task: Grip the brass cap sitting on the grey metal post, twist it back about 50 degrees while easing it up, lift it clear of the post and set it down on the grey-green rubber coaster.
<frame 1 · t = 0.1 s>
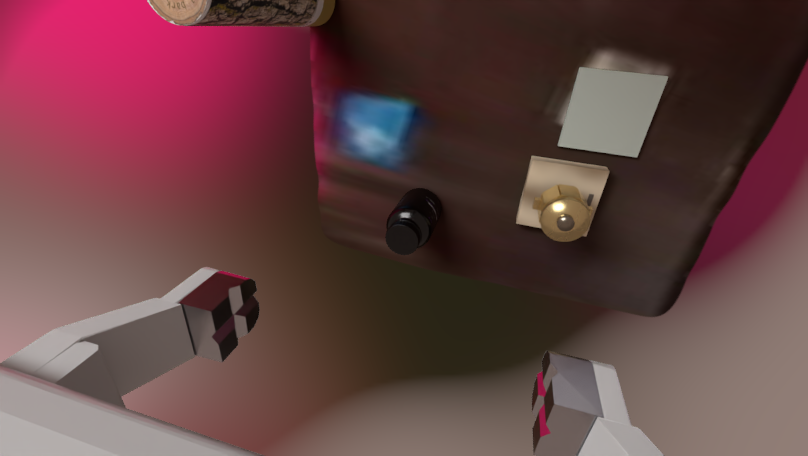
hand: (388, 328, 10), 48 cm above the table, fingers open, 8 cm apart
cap: (561, 204, 52), point 4 cm above the table, touching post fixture
coaster: (608, 112, 49), on the table
supplement bottle: (421, 205, 62), on the table
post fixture: (558, 193, 55), on the table
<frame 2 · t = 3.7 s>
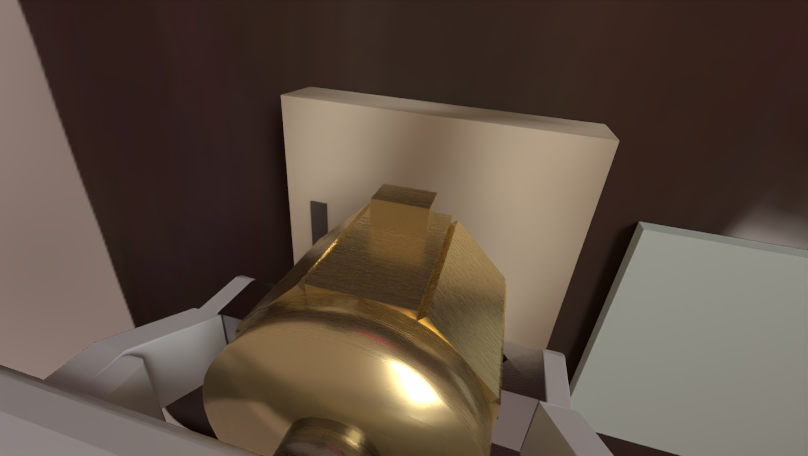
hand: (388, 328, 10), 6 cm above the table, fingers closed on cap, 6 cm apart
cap: (404, 292, 12), point 4 cm above the table, touching gripper, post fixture
coaster: (733, 363, 14), on the table
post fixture: (430, 232, 15), on the table
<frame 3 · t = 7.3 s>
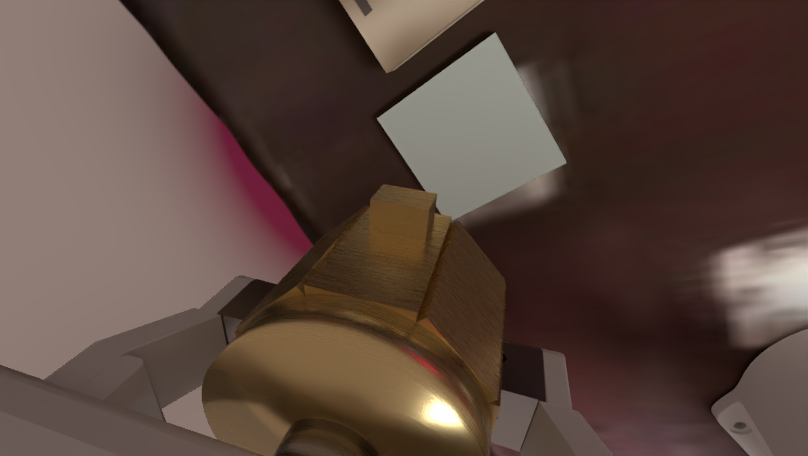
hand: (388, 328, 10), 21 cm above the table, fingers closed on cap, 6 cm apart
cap: (404, 293, 12), point 19 cm above the table, touching gripper
coaster: (469, 137, 28), on the table
when the fingers open (4 cm above the table, at t = 11.1 s): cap drops 1 cm, resting on coaster.
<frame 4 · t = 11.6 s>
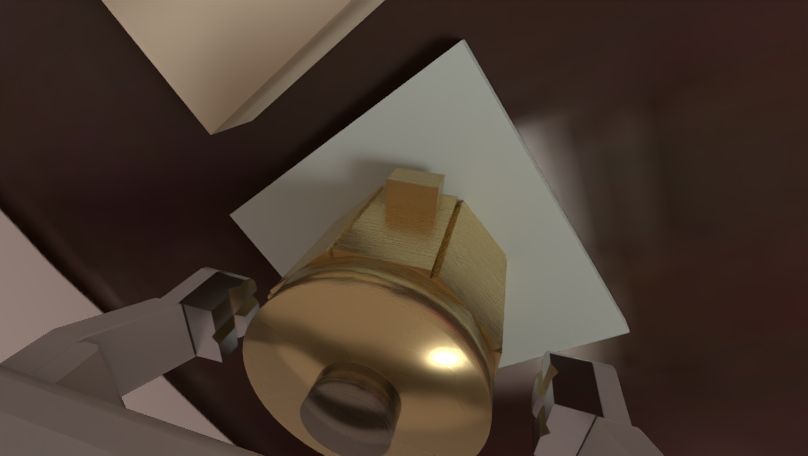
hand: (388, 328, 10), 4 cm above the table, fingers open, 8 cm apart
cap: (413, 269, 13), point 1 cm above the table, touching coaster
coaster: (417, 259, 13), on the table
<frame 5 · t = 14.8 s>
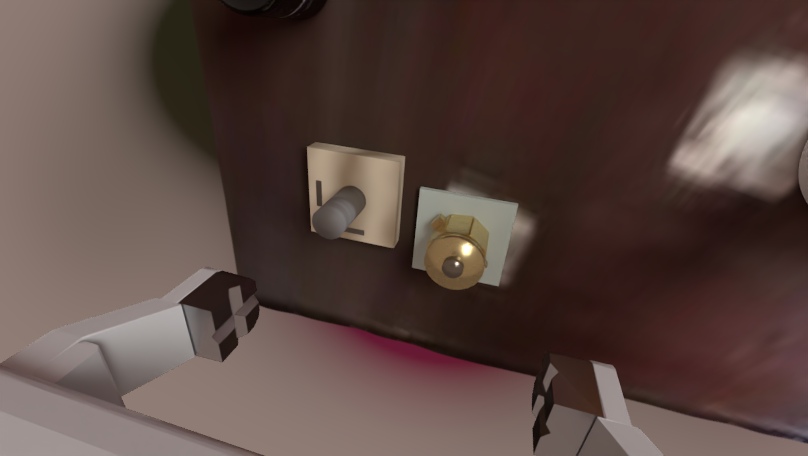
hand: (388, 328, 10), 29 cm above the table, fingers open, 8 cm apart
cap: (460, 239, 41), point 1 cm above the table, touching coaster
coaster: (461, 236, 41), on the table
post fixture: (358, 192, 42), on the table
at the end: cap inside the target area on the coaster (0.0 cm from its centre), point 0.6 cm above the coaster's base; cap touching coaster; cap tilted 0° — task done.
